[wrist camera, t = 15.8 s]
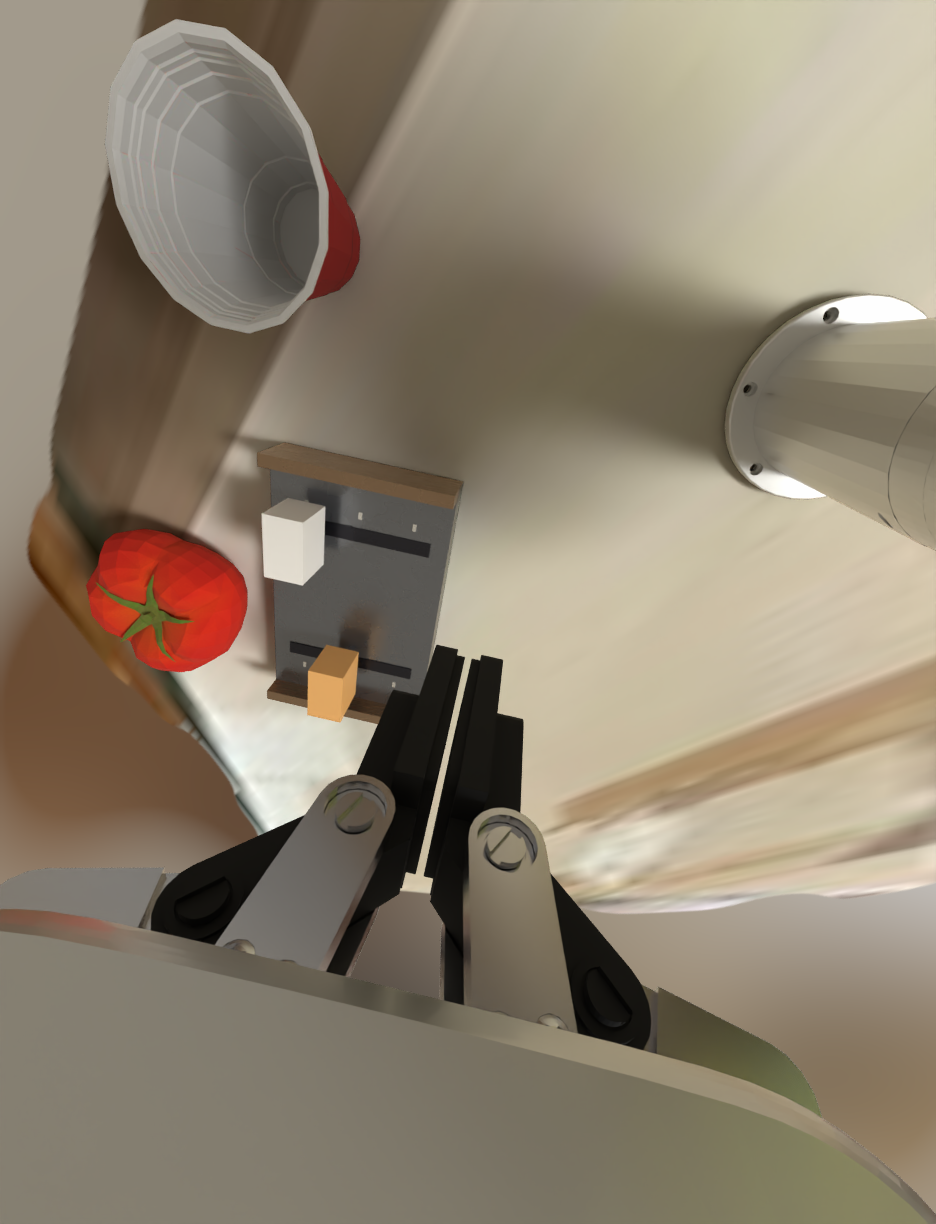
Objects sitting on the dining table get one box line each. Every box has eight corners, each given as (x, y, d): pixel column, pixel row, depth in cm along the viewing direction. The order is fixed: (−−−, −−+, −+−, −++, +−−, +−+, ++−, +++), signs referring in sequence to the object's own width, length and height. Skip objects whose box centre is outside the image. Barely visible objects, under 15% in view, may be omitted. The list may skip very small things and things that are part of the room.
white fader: (332, 501, 38) (302, 522, 33) (330, 557, 40) (302, 585, 35) (295, 493, 38) (261, 513, 33) (295, 550, 40) (264, 576, 35)
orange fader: (363, 643, 44) (342, 678, 39) (360, 684, 47) (340, 722, 42) (332, 636, 44) (308, 670, 39) (330, 678, 47) (307, 714, 42)
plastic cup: (212, 249, 33) (61, 203, 22) (296, 83, 28) (154, -72, 18) (335, 372, 36) (251, 382, 25) (429, 240, 31) (375, 185, 21)
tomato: (293, 627, 48) (246, 680, 40) (192, 648, 51) (131, 701, 43) (224, 496, 42) (154, 529, 34) (114, 528, 45) (27, 565, 37)
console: (463, 481, 38) (455, 496, 34) (423, 703, 50) (414, 732, 46) (284, 442, 39) (257, 452, 35) (287, 672, 51) (267, 698, 47)
